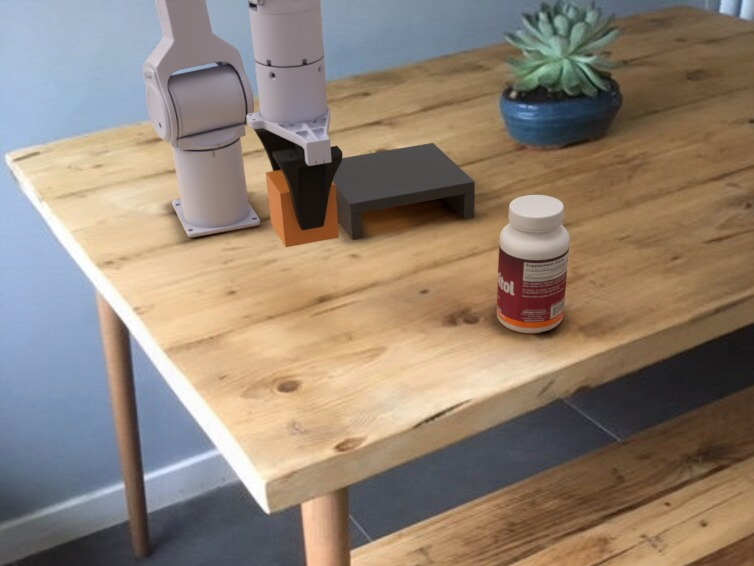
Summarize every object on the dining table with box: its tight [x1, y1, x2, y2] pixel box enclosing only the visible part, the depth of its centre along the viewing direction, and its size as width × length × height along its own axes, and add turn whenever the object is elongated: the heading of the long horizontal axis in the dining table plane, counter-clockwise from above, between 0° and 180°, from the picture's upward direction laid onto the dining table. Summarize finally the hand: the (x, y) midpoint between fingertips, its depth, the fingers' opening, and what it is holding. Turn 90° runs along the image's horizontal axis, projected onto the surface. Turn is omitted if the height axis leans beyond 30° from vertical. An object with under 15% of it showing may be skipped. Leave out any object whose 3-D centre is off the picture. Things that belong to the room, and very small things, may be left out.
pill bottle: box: [496, 194, 571, 334], centre depth 93 cm, size 6×6×11 cm
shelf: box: [333, 142, 476, 241], centre depth 114 cm, size 12×14×4 cm
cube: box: [265, 170, 340, 248], centre depth 93 cm, size 5×5×5 cm
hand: (303, 214), depth 94 cm, fingers closed on cube, 5 cm apart
